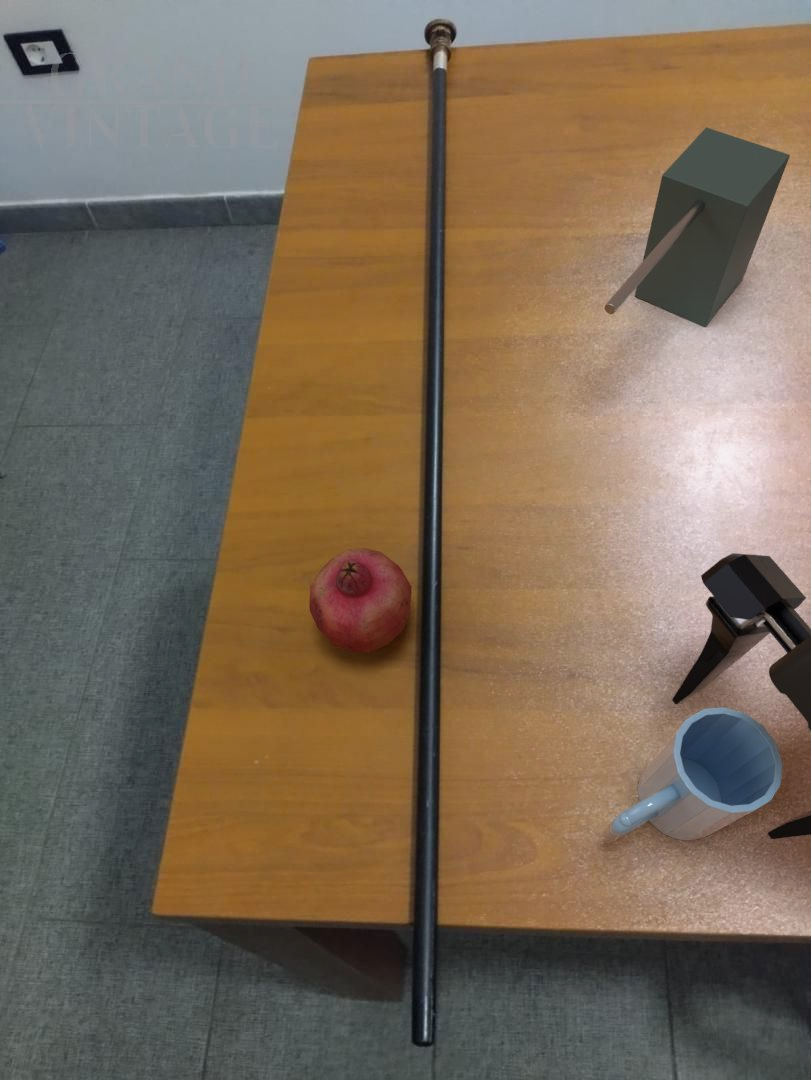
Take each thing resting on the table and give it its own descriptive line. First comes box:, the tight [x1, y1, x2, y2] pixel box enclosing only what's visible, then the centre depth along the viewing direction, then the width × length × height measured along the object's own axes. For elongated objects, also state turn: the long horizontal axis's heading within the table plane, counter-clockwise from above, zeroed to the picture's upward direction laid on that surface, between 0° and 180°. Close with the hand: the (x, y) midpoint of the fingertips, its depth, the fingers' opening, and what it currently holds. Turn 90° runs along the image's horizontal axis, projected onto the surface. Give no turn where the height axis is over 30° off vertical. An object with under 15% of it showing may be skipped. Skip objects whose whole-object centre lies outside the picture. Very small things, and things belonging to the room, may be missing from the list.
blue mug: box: [603, 706, 784, 843], centre depth 48 cm, size 10×6×12 cm, turn 117°
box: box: [604, 127, 791, 328], centre depth 69 cm, size 8×23×14 cm, turn 142°
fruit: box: [308, 547, 413, 653], centre depth 59 cm, size 8×8×10 cm
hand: (721, 765), depth 47 cm, fingers open, 9 cm apart
